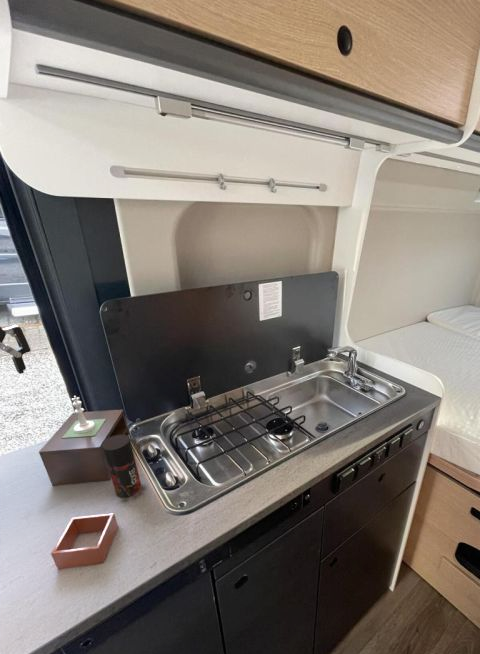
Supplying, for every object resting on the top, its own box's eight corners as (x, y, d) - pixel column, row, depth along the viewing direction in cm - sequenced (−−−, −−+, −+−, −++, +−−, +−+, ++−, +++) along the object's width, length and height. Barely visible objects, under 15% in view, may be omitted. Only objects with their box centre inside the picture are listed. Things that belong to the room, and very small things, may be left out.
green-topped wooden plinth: (52, 485, 85) (38, 451, 80) (82, 442, 101) (72, 412, 96) (109, 480, 87) (99, 446, 82) (130, 439, 103) (123, 408, 98)
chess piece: (96, 429, 89) (86, 397, 84) (74, 435, 86) (63, 402, 82) (94, 420, 92) (85, 389, 88) (73, 426, 90) (63, 394, 86)
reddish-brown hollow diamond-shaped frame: (57, 569, 65) (50, 554, 63) (77, 531, 73) (71, 517, 71) (103, 563, 66) (98, 548, 64) (118, 527, 74) (114, 512, 72)
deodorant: (123, 480, 87) (110, 434, 81) (145, 481, 87) (134, 434, 81) (111, 497, 82) (96, 449, 75) (134, 498, 81) (121, 450, 75)
